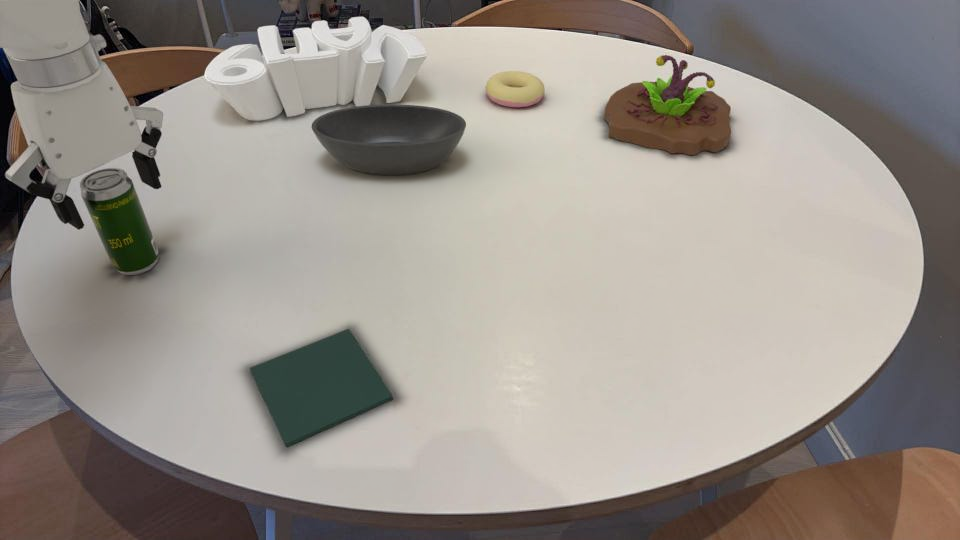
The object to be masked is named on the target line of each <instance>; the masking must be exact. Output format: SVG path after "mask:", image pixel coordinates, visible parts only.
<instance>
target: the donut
mask: <svg viewBox="0 0 960 540" xmlns="http://www.w3.org/2000/svg"><path fill="white" fill-rule="evenodd" d="M545 92H546V89H545V84H544V82H543V81H542V80H541V79H540V78H539V77H537V76H536V75H534V74H531V73H528V72H524V71H519V70H518V71H517V70H509V71H501V72H498V73H496V74H493V75H492V76H491V77H489V79H488V80H487V82H486V84H485V94H486V95H487V97H488V98H489V99H490V100H491V101H492V102H494V103H495V104H498V105H500V106H502V107H503V106H504V107H509V108H525V107H531V106H533V105H535V104H537V103H539V102H540V101H541V100H542V99H543V97H544V96H545Z"/></svg>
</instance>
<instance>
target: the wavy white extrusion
mask: <svg viewBox="0 0 960 540" xmlns="http://www.w3.org/2000/svg"><path fill="white" fill-rule="evenodd" d="M292 34H293V39H294V44H295V49H296V53H285V49H284V46H283V41H282V38H281V34H280V31H279V28H278V26H276V25H275V24H274V25H273V24H272V25H263V26H259V27H258V28H257V37H258V41H259V45H260V48H259V45H258V44H253V43H246V44H245V43H244V44H237V45H233V46H230V47H229V48H226V49H225V50H223V51H221V53H219V54H217V55H216V56H215V57H214V58H213V59H211V61H210V62H209V63H208V65H207V66H206V68H205V70H204V75H203V77H204V79H205V80H206V81H207V83H209V84H210V86H211V87H213V89H214V90H216V92H217V93H218V94H219V95H220V96H221V97H222V98H223V99H224V100H225V101H226V102H227V103H228V104H229V105H230V106H231V107H232V108H233V109H234V110H235V111H236V112H237V113H238V115H239V116H240V117H242V118H243V119H245V120H248V121H251V122H252V121H253V122H258V121H268V120H271V119H273V118H275V117H277V116H279V115H280V114H281V113H282V112H283V110H284V113H285V114H286V117H287V118H290V117H291V118H292V117H296V116H300V115H303V114H305V113H306V110H311V109H319V108H320V109H321V108H327V107H334V106H337V105H341V106H346V105H348V104H349V103H351V102H353V103H354V106H355V107H357V106H366V105H371V103H372V100H373V97H374V94H375V92H376V88H377V86H378V87H379V88H380V89H381V91H382V92H383V94H384V96H385V100H386V104H393V103H398V102H401V101H402V99H403V97H404V96H405V94H406V92H407V91H408V90H409V87H410V86H411V84H412V82H413V80H414V79H415V78H416V75H417V74H418V73H419V71H420V69H421V67H422V65H423V64H424V62H425V61H426V59H427V57H428V53H427V49H426V47H425V46H424V44H423V43H422V42H421V41H420V39H418V38H416V37H415V36H414V35H412V34H411V33H409V32H407V31H404V30H402V29H400V28H396V27H393V26H390V25H385V24H382V25H380V26H379V27H377V28H376V29H374V30H372V28H371V25H370V22H369V20H368V19H367V18H366V17H364V16H354V17H350V18H349V19H348V22H347V27H340V28H339V27H338V28H330V27H329V24H328V21H326V20H316V21H313V22H312V23H311V28H310V27H298V28H294V29H292ZM260 49H261V50H260Z"/></svg>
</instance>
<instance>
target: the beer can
mask: <svg viewBox="0 0 960 540" xmlns="http://www.w3.org/2000/svg"><path fill="white" fill-rule="evenodd" d="M79 187H80V196H81V198H82V200H83V203H84V205H85V207H86V209H87V212H88V214H89V216H90V219H91V220H92V223H93V225H94V227H95V229H96V232H97V234H98V237H99V239H100V241H101V243H102V245H103V248H104V251H105V253H106V254H107V256H108V259H109V262H110V263H111V266H112V267H113V269H114V270H116V271H117V272H118V273H120V274H121V275H126V276H137V275H141V274H144V273H147V272H148V271H150V270H151V269H153V268H154V267H155V266H156V265H157V263H158V261H159V257H160V252H159V248H158V245H157V244H156V241H155V238H154V235H153V232H152V230H151V227H150V225H149V222H148V219H147V216H146V214H145V211H144V209H143V206H142V204H141V201H140V197H139V196H138V193H137V190H136V188H135V185H134V182H133V180H132V179H131V177H129V175H128V173H127V172H126V170H124V169H122V168H116V167H107V168H101V169H97V170H94V171H92V172H90V173H88V174H87V175H85V176H84V177H83V178H82V179H81V180H80V181H79Z"/></svg>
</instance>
